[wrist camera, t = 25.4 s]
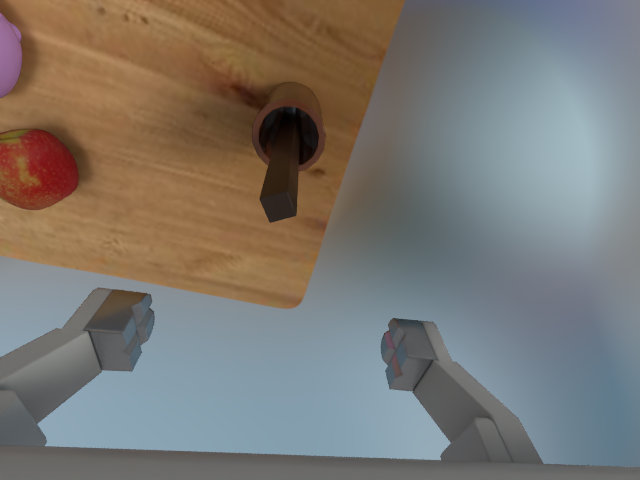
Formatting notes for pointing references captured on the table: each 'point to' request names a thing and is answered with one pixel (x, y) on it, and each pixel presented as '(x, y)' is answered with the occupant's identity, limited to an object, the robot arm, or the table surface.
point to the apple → (35, 169)
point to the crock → (271, 116)
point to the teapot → (9, 56)
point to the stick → (283, 169)
